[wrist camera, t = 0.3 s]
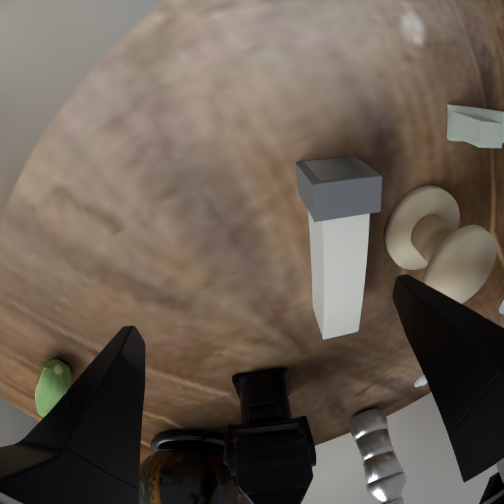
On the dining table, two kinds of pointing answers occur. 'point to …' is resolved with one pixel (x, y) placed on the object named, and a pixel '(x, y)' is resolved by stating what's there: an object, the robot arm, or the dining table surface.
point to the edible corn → (51, 385)
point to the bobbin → (439, 243)
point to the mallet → (338, 236)
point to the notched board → (475, 126)
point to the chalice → (501, 308)
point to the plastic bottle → (378, 456)
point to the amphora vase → (188, 471)
